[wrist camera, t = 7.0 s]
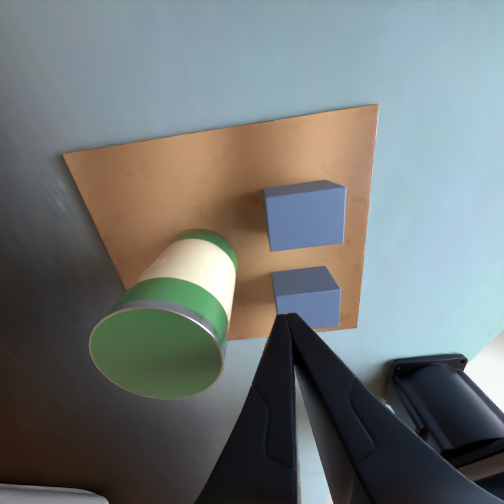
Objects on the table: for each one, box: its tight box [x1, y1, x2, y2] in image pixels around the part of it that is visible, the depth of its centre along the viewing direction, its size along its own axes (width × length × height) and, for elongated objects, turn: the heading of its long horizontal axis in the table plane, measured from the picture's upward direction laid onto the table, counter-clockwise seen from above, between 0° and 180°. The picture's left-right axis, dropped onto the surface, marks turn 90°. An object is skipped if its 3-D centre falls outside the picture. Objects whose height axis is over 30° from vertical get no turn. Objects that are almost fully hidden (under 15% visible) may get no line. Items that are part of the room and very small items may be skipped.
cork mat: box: [62, 104, 379, 341], centre depth 15 cm, size 18×16×1 cm
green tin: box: [89, 229, 237, 399], centre depth 12 cm, size 9×5×9 cm
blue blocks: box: [262, 180, 346, 329], centre depth 13 cm, size 4×9×3 cm, turn 8°
